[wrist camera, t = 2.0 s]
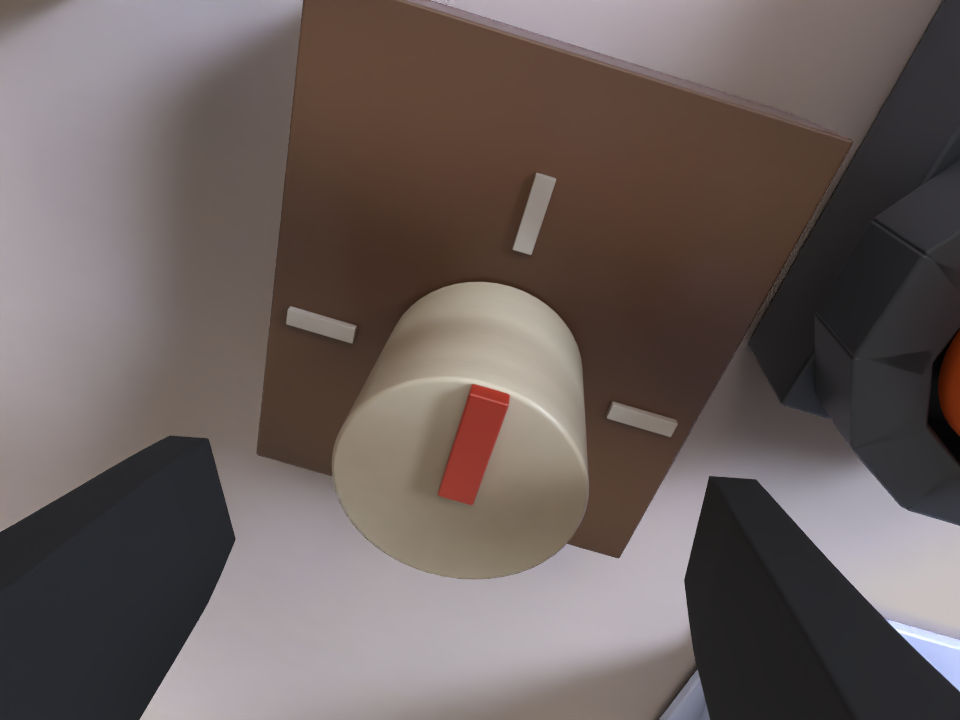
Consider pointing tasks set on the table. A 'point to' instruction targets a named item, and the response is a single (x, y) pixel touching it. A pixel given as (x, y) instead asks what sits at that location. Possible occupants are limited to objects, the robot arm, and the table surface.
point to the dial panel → (526, 223)
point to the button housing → (885, 289)
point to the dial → (469, 436)
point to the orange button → (951, 384)
